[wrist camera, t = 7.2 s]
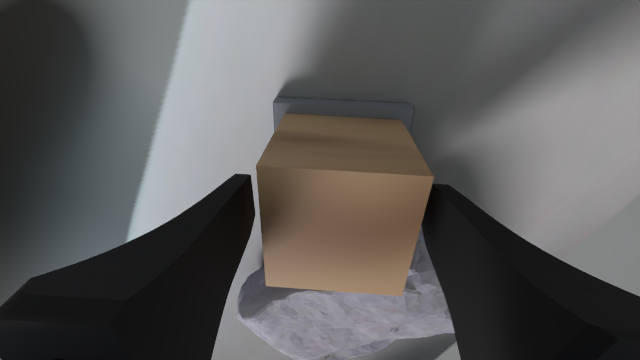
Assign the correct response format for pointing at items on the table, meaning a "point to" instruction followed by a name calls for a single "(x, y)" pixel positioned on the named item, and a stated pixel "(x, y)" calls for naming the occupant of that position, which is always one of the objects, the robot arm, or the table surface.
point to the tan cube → (341, 203)
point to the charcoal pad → (342, 109)
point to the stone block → (345, 314)
